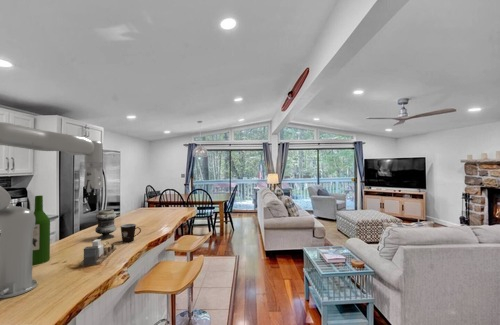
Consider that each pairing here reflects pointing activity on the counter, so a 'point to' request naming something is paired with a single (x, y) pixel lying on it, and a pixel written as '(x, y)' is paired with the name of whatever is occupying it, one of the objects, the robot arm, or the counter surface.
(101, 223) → the apothecary jar
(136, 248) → the counter surface
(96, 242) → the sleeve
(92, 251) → the pegged board
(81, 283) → the counter surface
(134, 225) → the coffee mug
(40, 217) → the wine bottle
